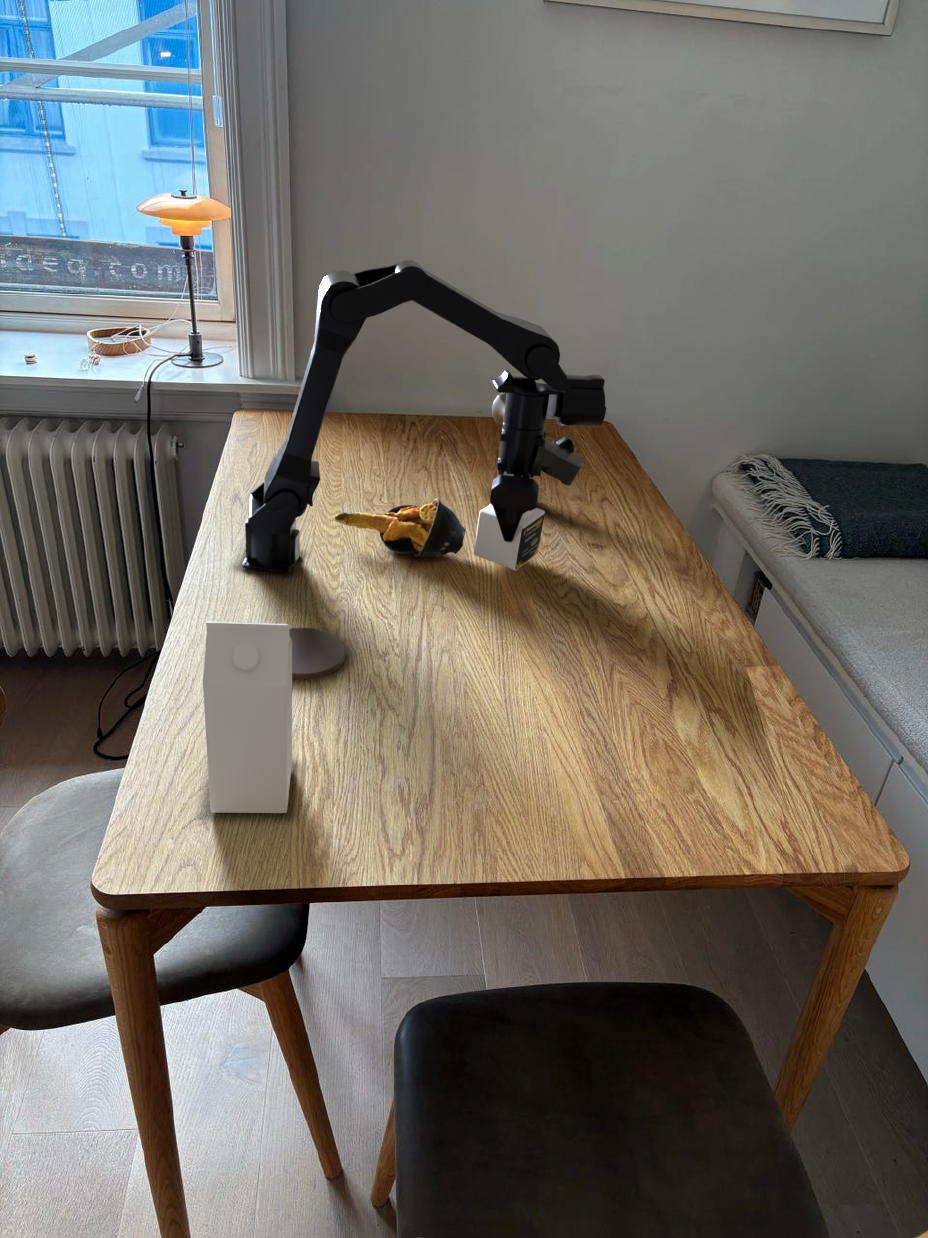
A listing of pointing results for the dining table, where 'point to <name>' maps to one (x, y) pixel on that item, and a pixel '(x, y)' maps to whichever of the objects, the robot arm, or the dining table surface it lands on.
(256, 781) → the milk carton
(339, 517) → the fried shrimp in bowl
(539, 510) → the medicine bottle
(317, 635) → the coaster
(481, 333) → the robot arm
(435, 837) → the dining table surface
